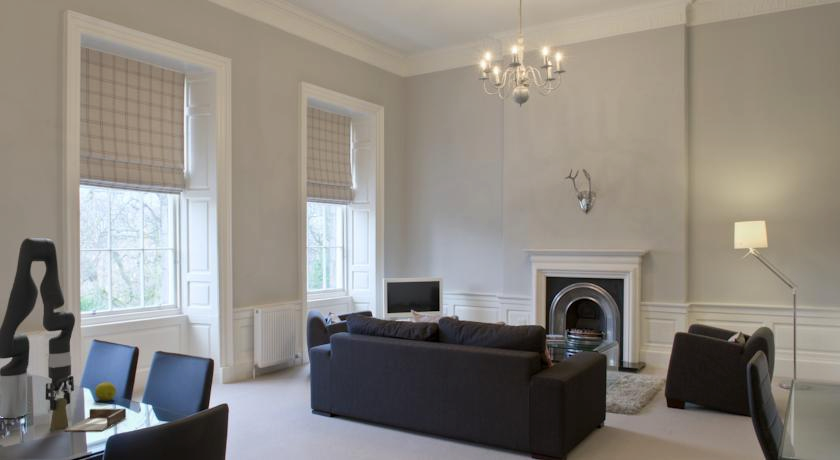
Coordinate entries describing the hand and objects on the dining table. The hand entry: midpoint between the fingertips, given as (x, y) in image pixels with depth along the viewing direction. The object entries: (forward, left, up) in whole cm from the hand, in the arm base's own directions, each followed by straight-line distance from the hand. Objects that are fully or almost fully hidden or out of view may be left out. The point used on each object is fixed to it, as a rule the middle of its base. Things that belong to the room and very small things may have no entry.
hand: (60, 407), depth 235 cm
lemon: (-4, +39, -8) cm, 40 cm away
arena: (+12, +4, -8) cm, 15 cm away
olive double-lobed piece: (0, 0, -8) cm, 8 cm away
